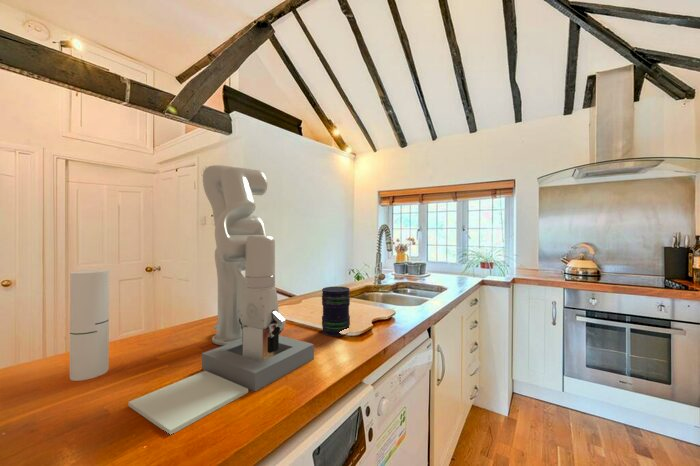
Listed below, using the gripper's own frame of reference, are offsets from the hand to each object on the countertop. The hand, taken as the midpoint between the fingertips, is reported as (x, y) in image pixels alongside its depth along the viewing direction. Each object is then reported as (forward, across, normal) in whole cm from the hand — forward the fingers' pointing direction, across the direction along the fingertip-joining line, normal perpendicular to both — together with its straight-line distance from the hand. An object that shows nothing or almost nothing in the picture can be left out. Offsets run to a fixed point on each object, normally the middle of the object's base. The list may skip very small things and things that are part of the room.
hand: (260, 347), depth 78 cm
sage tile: (+4, +1, -19) cm, 20 cm away
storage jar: (+5, +2, +32) cm, 32 cm away
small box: (+5, 0, 0) cm, 5 cm away
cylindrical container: (+4, -31, -26) cm, 41 cm away
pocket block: (+4, 0, 0) cm, 4 cm away
